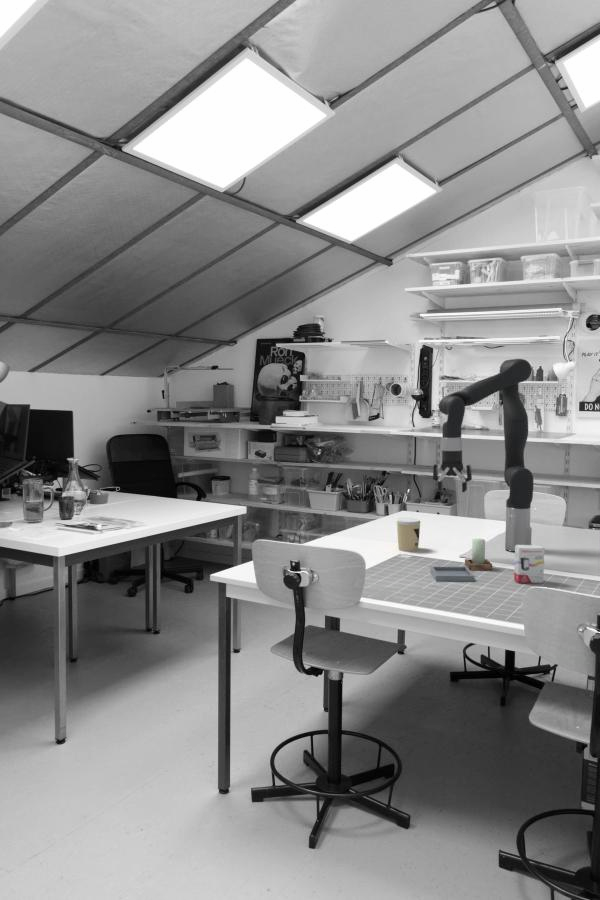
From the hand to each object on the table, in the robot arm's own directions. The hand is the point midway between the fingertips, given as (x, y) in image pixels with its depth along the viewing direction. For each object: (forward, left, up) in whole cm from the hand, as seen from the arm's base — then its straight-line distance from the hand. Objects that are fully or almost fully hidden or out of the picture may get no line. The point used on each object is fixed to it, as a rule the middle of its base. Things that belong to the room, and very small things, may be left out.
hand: (452, 491), depth 269 cm
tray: (+5, +29, -25) cm, 39 cm away
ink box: (-20, +35, -25) cm, 47 cm away
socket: (-7, +17, -25) cm, 31 cm away
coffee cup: (+15, -11, -25) cm, 32 cm away
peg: (-7, +17, -25) cm, 31 cm away
